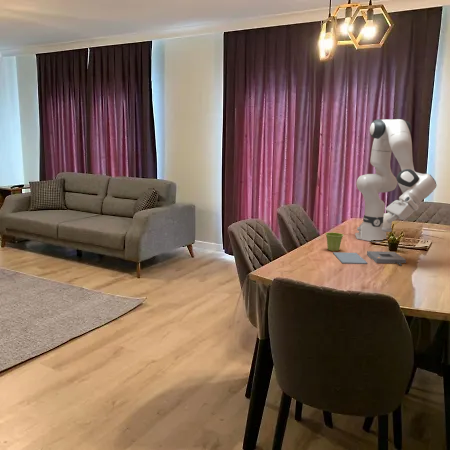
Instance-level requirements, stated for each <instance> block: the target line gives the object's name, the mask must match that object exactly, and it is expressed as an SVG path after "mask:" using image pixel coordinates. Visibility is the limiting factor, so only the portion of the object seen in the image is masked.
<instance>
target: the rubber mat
mask: <svg viewBox="0 0 450 450" xmlns="http://www.w3.org/2000/svg"><path fill="white" fill-rule="evenodd" d="M332 254H333V255H334V256H335V257H336V258H337V259H338V261H339V262H340V263H341V264H343V265H344V264H345V265H346V264H348V265H349V264H352V265H353V264H354V265H356V264H357V265H367V264H368V261H366V259H364V258H363V257H361V255H359V254H358V253H357V252H337V251H332Z"/></svg>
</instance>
